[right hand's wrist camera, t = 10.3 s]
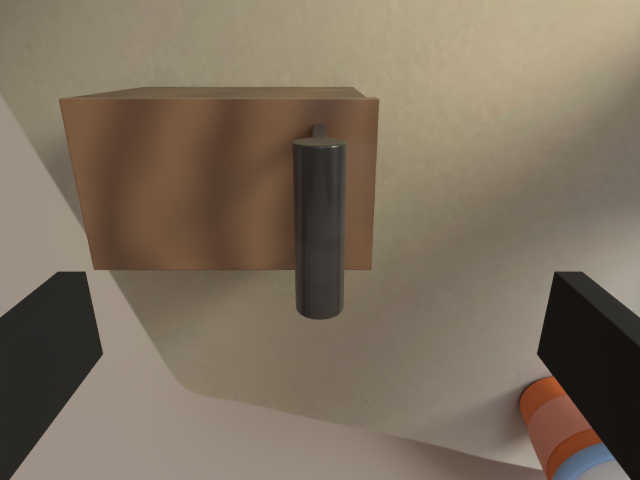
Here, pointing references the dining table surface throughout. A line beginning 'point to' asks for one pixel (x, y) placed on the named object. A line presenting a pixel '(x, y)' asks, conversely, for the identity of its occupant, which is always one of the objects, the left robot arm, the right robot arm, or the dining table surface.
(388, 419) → the dining table surface
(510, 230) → the dining table surface
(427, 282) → the dining table surface
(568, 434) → the cup with straw
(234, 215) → the lid
